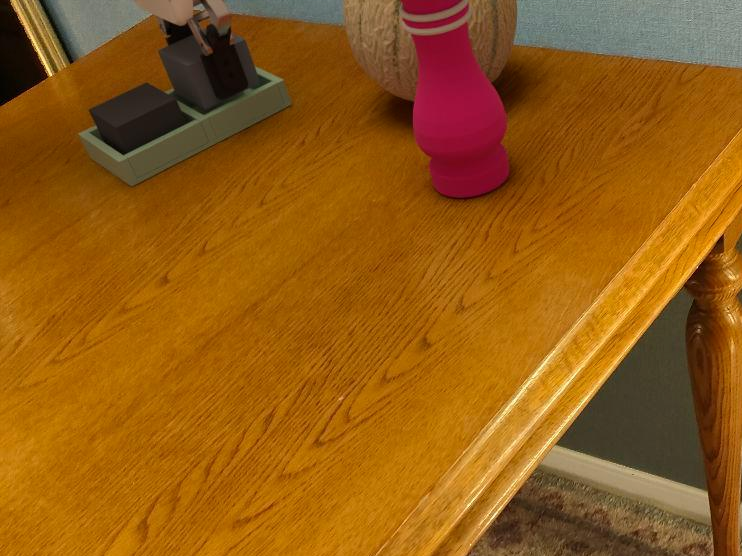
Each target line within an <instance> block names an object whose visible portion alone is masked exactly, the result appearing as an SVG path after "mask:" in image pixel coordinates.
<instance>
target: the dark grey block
mask: <svg viewBox="0 0 742 556" xmlns="http://www.w3.org/2000/svg"><path fill="white" fill-rule="evenodd" d="M165 92H166V91H163V90H161V89H159V88H158V87H156V86H154V85H153V84H151V83H149V82H144V83H141V84H140V85H138V86H135V87H134V88H131V89H129V90H127V91H124V92H123V93H121V94H118V95H117V96H114V97H112V98H110V99H108V100H106V101H104V102H102V103H100V104H97V105H96V106H94V107H91V108H89V109H88V113H89V115H90V116H91V119H92V121H93V123H94V124H95V125H96V126H97V128H98V130H99V132H100V134H101V136H102V138H103V140H104V142H105V144H107V145H108V146H110V147H111V148H113V149H114V150H116V151H117V152H119V153H120V154H122V155H123V156H124V155H125V154H127V153H129V152H131V151H133V150H135V149H137V148H139V147H141V146H143V145H145V144H147V143H149V142H151V141H153V140H155V139H157V138H159V137H161V136H163V135H166V134H168V133H170V132H172V131H174V130H176V129H178V128H180V127H182V126H184V125H186V124H187V123H186V121H185V118H184V116H183V114H182V111H181V109H180V107H179V104H178V102H177V100H176V98H174V97H172V96H170V95H169V94H167V93H165Z"/></svg>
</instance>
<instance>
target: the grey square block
mask: <svg viewBox="0 0 742 556" xmlns="http://www.w3.org/2000/svg"><path fill="white" fill-rule="evenodd" d="M202 30H203V31H204V33H205V35H206V28H204V29H202ZM231 34H232V36H233V38H234V41H235V44H234V45H235V48H236V51H237V54H238V56H239V59H240V62H241V65H242V67H243V70H244V73H245V76H246V78H247V81H248V87H247V88H246V89H244V90H242V91H240V92H238V93H236V94H234V95H232V96H230V97H227V98H225V99H223V100H221V99H219V98H217V97H216V96H215V93H214V91H213V88H212V86H211V83H210V81H209V78H208V75H207V73H206V70H205V68H204V65H203V63H202V60H201V58H200V55H201V54H203V51H202V49H201V48H200V46H199V44H198V42H197V40H196V38H195V36H194V34H193V35H191V36H189V37H187V38H185V39H182V40H180V41H178V42H176V43H174V44H171V45H169V46H168V45H166V46H164V47H162V48H160V49H157V53H158V55H159V58H160V60H161V62H162V65H163V66H164V70H165V72H166V74H167V78H168V79H169V82H170V84H171V86H172V88H173V89H174V91H175V93H176V94H178V95H179V96H181V97H183V98H185V99H187V100H188V101H190V102H192V103H194V104H196V105H198V106H199V107H201V108H203V109H205V110H206V109H208V108H210V107H212V106H214V105H216V104H218V103H220V102H223V101H225V100H227V99H229V98H231V97H233V96H235V95H237V94H239V93H241V92H243V91H245V90H247V89H249V88H251V87H253V86H255V85H257V84H259V83H260V80H259V77H258V74H257V71H256V68H255V67H256V65H255V63H254V59H253V58H252V55H251V52H250V49H249V46H248V43H247V41H246V39H245V38H243V37H241V36H239V35H237V34H235V33H233V32H231Z"/></svg>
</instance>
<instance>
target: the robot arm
mask: <svg viewBox="0 0 742 556" xmlns="http://www.w3.org/2000/svg"><path fill="white" fill-rule="evenodd" d="M133 2H134V3H135V5H136V6H137V7H139V8H140V9H142V10H144V11H146V12H147V13H149V14H152V15H153V16H156V19H157V23H158V26H159V29H160V31H161V33H162V35H163V36H164V37H165V39H164V40H165V42H166V44H167V46H169V45H171V44H174V43H176V42H178V41H180V40H182V39H185V38H187V37H189V36H191V35H193V34H194V36H195V38H196V40H197V42H198V44H199V46H200V48H201V49H202V51H203V54H201V55H200V58H201V60H202V63H203V65H204V68H205V70H206V73H207V75H208V78H209V81H210V83H211V86H212V88H213V91H214V93H215V96H216V97H217V98H219V99H221V100H223V99H225V98H227V97H230V96H232V95H234V94H236V93H238V92H240V91H242V90H244V89H246V88H247V87H248V81H247V78H246V76H245V73H244V70H243V67H242V65H241V62H240V59H239V56H238V54H237V51H236V48H235V45H234V44H235V41H234V38H233V36H232V34H233V33H232V25H231V23H232V13H231V11H230V9H229V8H228V7H227V5H226V0H133ZM199 5H202V6H203V7H204V9H203V10H202V11H200V12H197V13H195V14H194V8H195V7H198V6H199ZM208 19H209V22H210V24H207V25H206V28H205V29H206V35H205V33H204V31H203V30H204V29H203V28H202V26H201V24H200V23H201V22H203V21H205V20H208ZM231 33H232V34H231Z"/></svg>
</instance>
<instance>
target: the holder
mask: <svg viewBox="0 0 742 556" xmlns="http://www.w3.org/2000/svg"><path fill="white" fill-rule="evenodd" d="M255 68H256V71H257V74H258V77H259V80H260V83H259V84H257V85H255V86H253V87H251V88H249V89H247V90H245V91H243V92H241V93H239V94H237V95H235V96H233V97H231V98H229V99H227V100H225V101H223V102H220V103H218V104H216V105H214V106H212V107H210V108H208V109H206V110H205V109H203V108H201V107H199V106H198V105H196V104H194V103H192V102H190V101H188V100H187V99H185V98H183V97H181V96H179V95H178V94H176V93H175V91H174V89H173V87H172V88H170V89H168V90H166V91H164V92H165V93H167V94H169V95H170V96H172V97H174V98H176V100H177V102H178V104H179V107H180V109H181V111H182V114H183V116H184V118H185V121H186V123H187V124H186V125H184V126H182V127H180V128H178V129H176V130H174V131H172V132H170V133H168V134H166V135H163V136H161V137H159V138H157V139H155V140H153V141H151V142H149V143H147V144H145V145H143V146H141V147H139V148H137V149H135V150H133V151H131V152H129V153H127V154H125V155H124V156H123V155H122V154H120V153H119V152H117V151H116V150H114V149H113V148H111V147H110V146H108V145H107V144H105V142H104V140H103V138H102V136H101V134H100V132H99V130H98V128H97V126H96V124H95V125H93V126H91V127H88V128H87V129H84V130H83V131H81V132H78V133H77V135H78V137H79V140H80V141H81V143H82V145H83V147H84V149H85V150H86V153H87V154H88V156H89V158H90V159H91V160H92V161H93V162H95V163H96V164H98V165H100V166H101V167H102V168H104V169H105V170H107V171H108V172H109V173H111V174H112V175H114V176H115V177H116V178H118V179H119V180H121V181H122V182H124V183H125V184H127V185H128V186H129V187H130V188H133V187H135V186H137V185H138V184H140V183H142V182H144V181H146V180H147V179H150V178H151V177H154V176H156V175H158V174H160V173H162V172H163V171H166V170H168V169H169V168H172V167H173V166H175V165H177V164H179V163H181V162H183V161H185V160H187V159H188V158H192V156H195V155H197V154H199V153H200V152H203V151H205V150H206V149H208V148H210V147H212V146H214V145H216V144H219V143H220V142H222V141H224V140H226V139H228V138H230V137H232V136H234V135H236V134H238V133H239V132H241V131H244V130H246V129H248V128H250V127H251V126H253V125H255V124H257V123H259V122H261V121H263V120H265V119H267V118H269V117H272V116H273V115H275V114H277V113H279V112H280V111H282V110H285V109H286V108H288V107H290V106H292V105H293V103H292V100H291V97H290V94H289V91H288V88H287V85H286V82H285V80H284V79H283V78H281V77H280V76H277V75H275V74H272V73H271V72H268V71H266V70H264V69H263V68H260V67H257V66H255Z"/></svg>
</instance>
